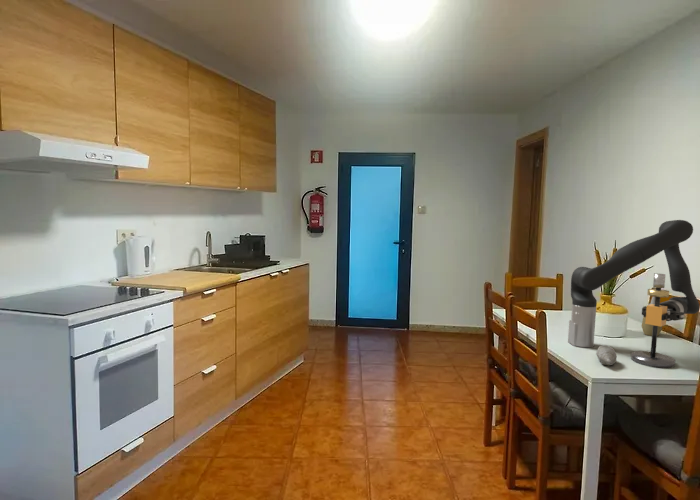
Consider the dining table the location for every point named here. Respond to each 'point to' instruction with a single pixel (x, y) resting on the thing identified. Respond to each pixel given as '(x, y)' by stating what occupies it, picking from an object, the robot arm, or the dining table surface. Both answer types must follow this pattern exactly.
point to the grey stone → (606, 355)
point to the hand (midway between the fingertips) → (653, 316)
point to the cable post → (655, 332)
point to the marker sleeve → (655, 315)
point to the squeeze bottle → (647, 327)
